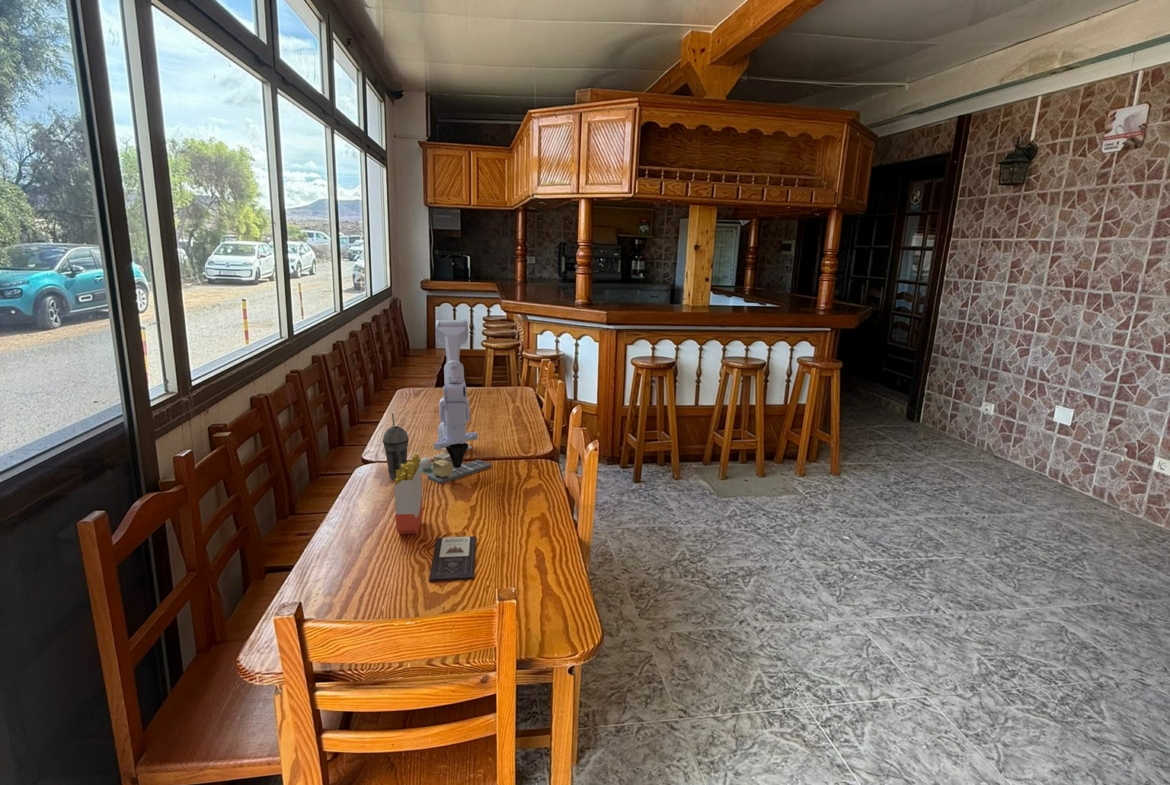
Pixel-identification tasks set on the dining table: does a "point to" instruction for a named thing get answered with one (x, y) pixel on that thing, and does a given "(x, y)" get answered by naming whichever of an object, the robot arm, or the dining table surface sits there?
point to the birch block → (442, 457)
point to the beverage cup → (395, 448)
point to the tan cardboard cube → (442, 468)
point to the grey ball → (425, 463)
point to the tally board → (461, 471)
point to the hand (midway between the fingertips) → (457, 467)
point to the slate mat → (429, 470)
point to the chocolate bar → (453, 559)
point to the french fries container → (408, 497)
